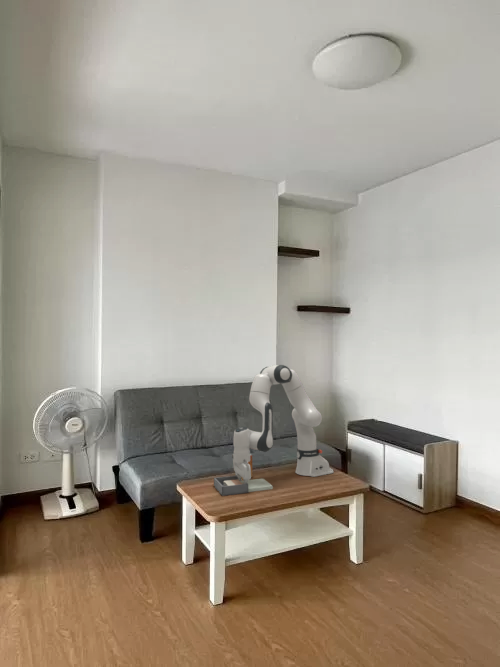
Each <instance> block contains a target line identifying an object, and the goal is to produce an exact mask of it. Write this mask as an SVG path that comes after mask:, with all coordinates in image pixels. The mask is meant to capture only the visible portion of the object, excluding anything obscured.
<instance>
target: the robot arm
mask: <svg viewBox="0 0 500 667" xmlns="http://www.w3.org/2000/svg"><path fill="white" fill-rule="evenodd" d="M280 384H281V385H282V387H283V390H284V392H285V394H286V397H287V398H288V400H289V403H290V404H291V406H292V407H293V409H292V412H291V417H292V420H293V421H294V426H295V430H296V435H297V437H296V438H297V448H296V459H297V462H296V463H297V464H296V468H295V474H297V475H300V476H304V477H305V476H307V477H308V476H309V477H319V476H325V475H330V474H334V469H333V468H331V467H330V464H329V461H328V460H327V459H325V458H324V457H323V456H322V455H320V454H323V450H322V449H319V448H317V434H316V433H315V430H314V428H316V427H318V426H320V424H321V423H322V422H323V420H322V419H323V416H322V414H321V412H320V411H319V410H318V409H317V407H316V406H315V405H314V403H313V401H312V400H311V399H310V397H309V395H308V394H307V391H306V389H305V387H304V385H303V382H302V381H301V378H300V377H299V375H298V374H297V372H296V370H294V369H292V368H289V367H288V366H287V365H284V364H279V365H278V364H273V365H269V366H266V367H264V368H262V370H261V371H260V372H259V373H258V374H256V375H254V378H253V381H252V382H251V386H250V391H249V399H248V402H249V404H250V405H251V406H252V407H253V409H255V410H257V411H258V412H260V414H261V415H262V416H261V417H262V430H261V431H254V430H253V429H252V430H251V429H249V427H248V426H238V427H236V428H235V429H234V431H233V438H232V440H233V444H232V445H233V454H231V458H232V466H233V471H234V472H236V473H237V477H238V480H239V481H240V482H241V481H244V483H243V484H247V482H248V480H252V478H251V468H250V465H249V464H248V462H249V461H250V454H251V450H256V451H259V452H263V453H267V452H269V451H270V450H271V449H272V448H273V446H274V436H273V429H274V428H273V421H274V420H273V417H274V412H273V405H272V404H271V403H270V394H271V387H272V386H274V385H275V386H277V385H280ZM250 449H251V450H250ZM241 477H242V478H243V479H242V478H241Z"/></svg>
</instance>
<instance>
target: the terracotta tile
mask: <svg viewBox="0 0 500 667" xmlns="http://www.w3.org/2000/svg"><path fill="white" fill-rule="evenodd" d="M231 481H232V482H233V483H234V484H235V485H239V484H242V483H241V482H240V481H239V480H238V479H237V480H231Z"/></svg>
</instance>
